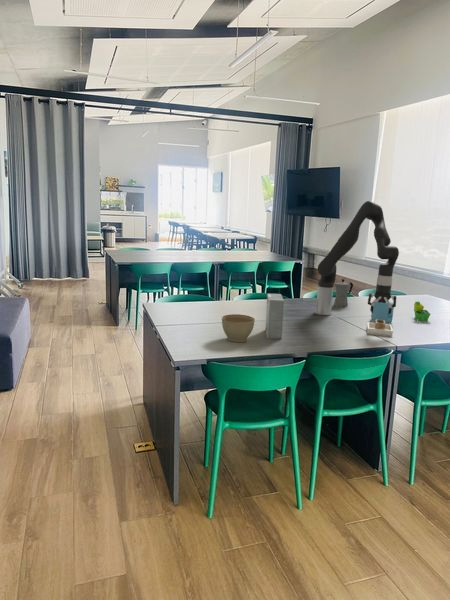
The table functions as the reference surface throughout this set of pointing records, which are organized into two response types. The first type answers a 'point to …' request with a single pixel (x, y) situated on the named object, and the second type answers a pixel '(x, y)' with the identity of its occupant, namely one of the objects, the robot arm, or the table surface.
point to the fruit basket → (420, 312)
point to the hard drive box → (274, 316)
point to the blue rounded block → (382, 312)
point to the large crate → (379, 330)
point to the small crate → (380, 324)
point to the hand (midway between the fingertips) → (380, 313)
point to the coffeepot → (342, 293)
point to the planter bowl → (237, 326)
